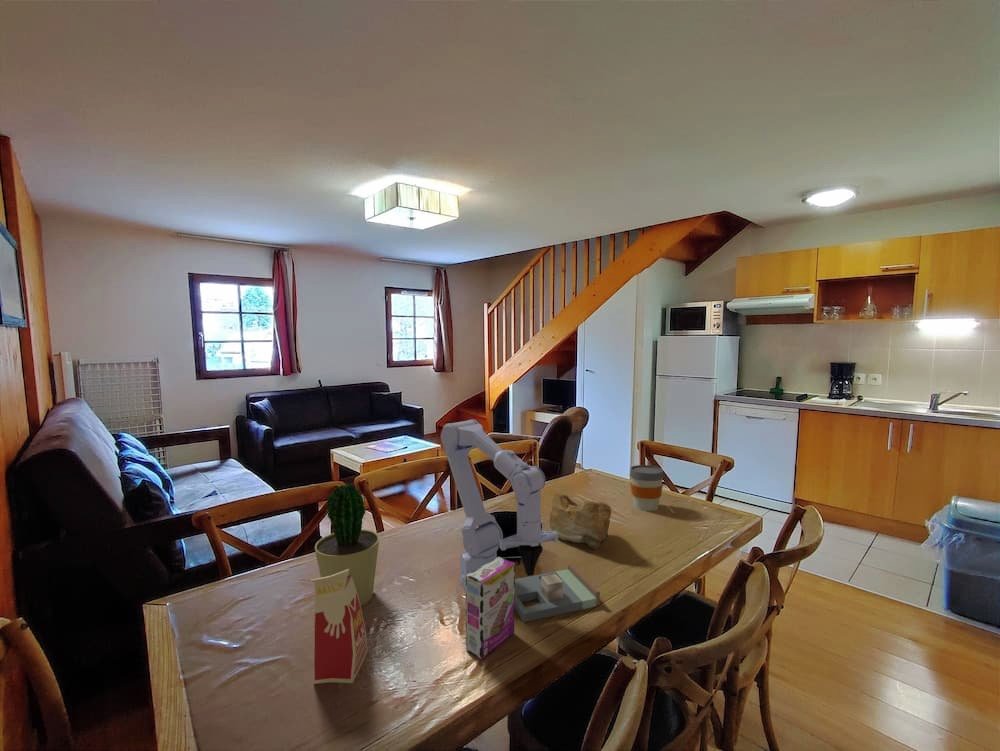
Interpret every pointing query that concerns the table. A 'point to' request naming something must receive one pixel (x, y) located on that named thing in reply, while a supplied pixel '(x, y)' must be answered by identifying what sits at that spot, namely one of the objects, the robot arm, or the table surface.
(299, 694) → the table surface
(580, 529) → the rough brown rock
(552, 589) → the block
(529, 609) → the board
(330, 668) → the milk carton
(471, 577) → the candy bar box
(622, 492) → the table surface
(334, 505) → the potted cactus
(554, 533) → the robot arm
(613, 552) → the table surface
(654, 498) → the reusable coffee cup
